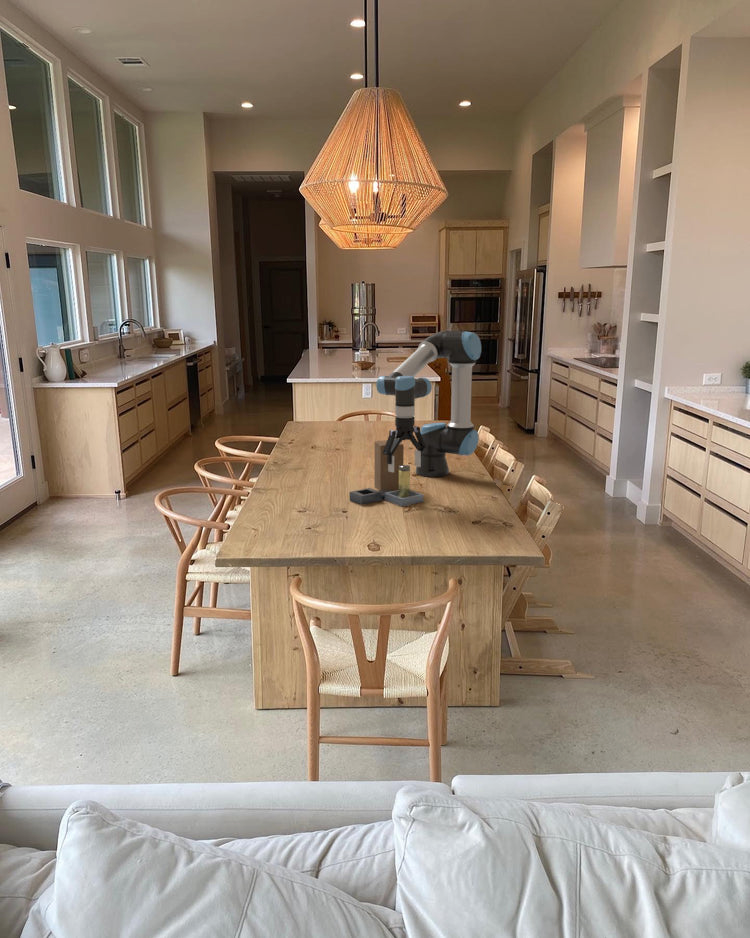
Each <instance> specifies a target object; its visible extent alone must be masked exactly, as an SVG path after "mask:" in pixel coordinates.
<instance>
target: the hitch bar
mask: <svg viewBox="0 0 750 938" xmlns="http://www.w3.org/2000/svg"><path fill="white" fill-rule="evenodd" d="M387 492H392V491H390V490H387V489H385V490H380V491H379V490H378V489H377V490H376V489H373V488H371V487H368V488H363V489H358V490H352V491H349V501H350V502H352V503H354V504H355V503H356V504H358V505H360V506H363V505H368V504H373V503H378V502H381V501H383V500H384V501H385V493H387Z"/></svg>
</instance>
